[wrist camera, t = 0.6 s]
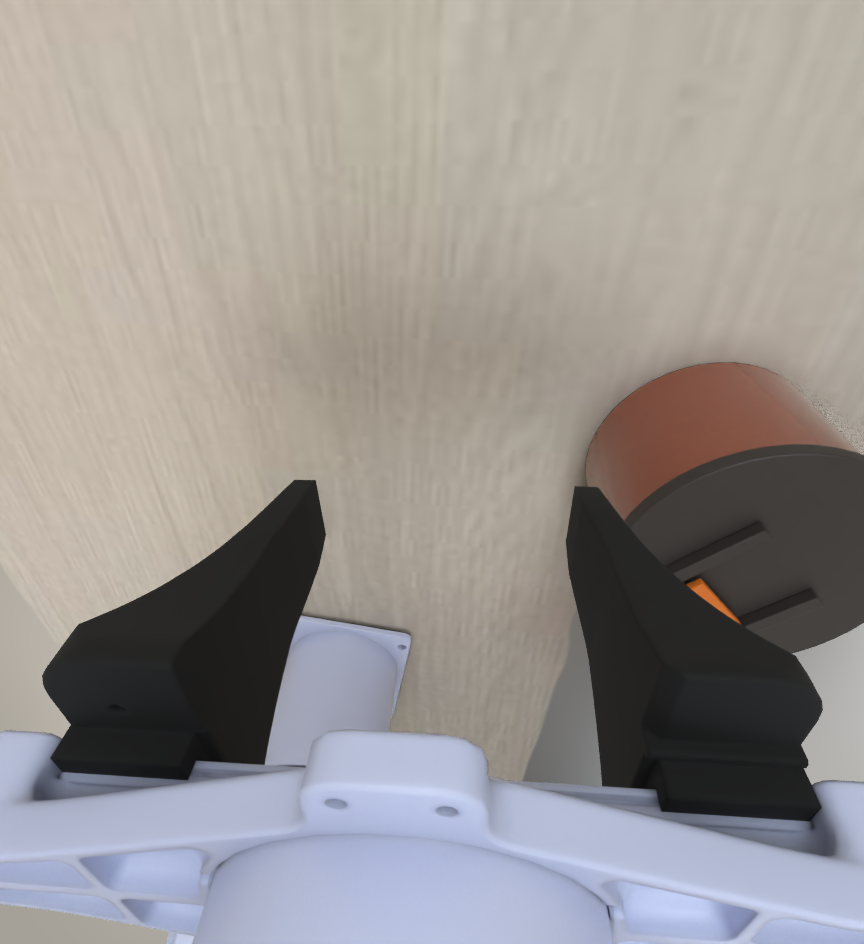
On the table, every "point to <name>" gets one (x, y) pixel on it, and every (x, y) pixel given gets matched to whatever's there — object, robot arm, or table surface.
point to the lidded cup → (742, 496)
